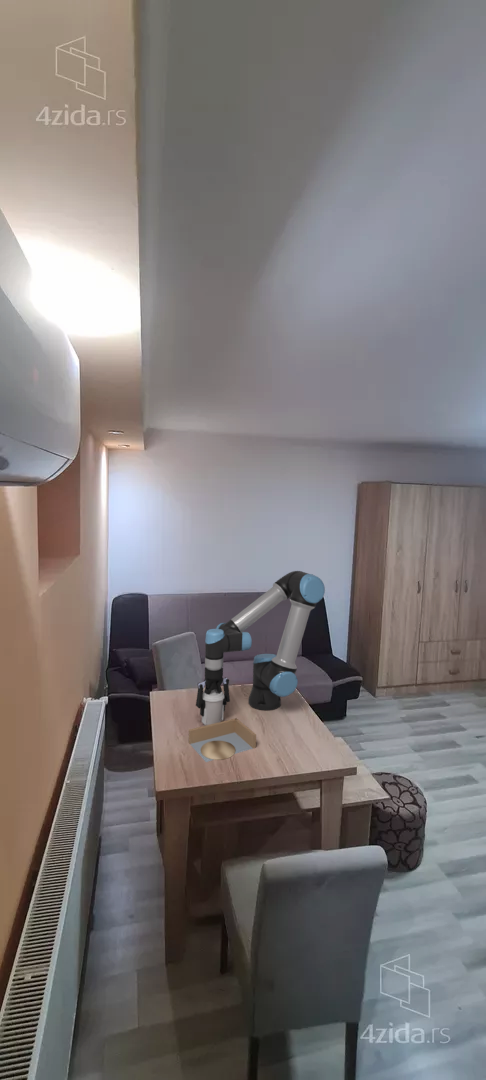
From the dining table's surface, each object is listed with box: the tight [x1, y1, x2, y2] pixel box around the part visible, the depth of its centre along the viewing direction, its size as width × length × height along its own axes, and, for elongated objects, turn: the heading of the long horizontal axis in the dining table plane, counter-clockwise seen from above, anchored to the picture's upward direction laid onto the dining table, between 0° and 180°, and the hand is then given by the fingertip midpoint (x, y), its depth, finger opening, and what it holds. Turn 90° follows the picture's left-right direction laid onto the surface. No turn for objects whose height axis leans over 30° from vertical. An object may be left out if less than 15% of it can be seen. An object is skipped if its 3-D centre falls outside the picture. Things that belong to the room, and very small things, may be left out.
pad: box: [201, 741, 235, 761], centre depth 173 cm, size 13×13×1 cm
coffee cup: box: [202, 689, 224, 726], centre depth 191 cm, size 10×10×15 cm
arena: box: [188, 717, 257, 763], centre depth 176 cm, size 21×15×6 cm
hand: (212, 720), depth 192 cm, fingers closed on coffee cup, 7 cm apart
